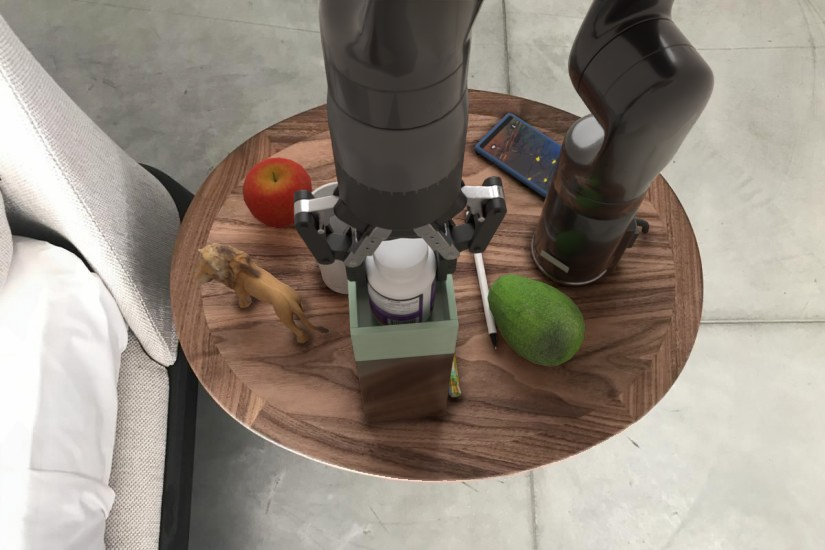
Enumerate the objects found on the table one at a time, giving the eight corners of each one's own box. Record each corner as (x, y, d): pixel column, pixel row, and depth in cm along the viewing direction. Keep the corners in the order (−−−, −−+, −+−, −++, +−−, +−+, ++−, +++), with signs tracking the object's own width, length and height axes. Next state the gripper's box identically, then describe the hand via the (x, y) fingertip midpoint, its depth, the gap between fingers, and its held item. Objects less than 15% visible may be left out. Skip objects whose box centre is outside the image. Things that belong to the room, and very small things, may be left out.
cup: (374, 306, 81) (369, 254, 70) (306, 293, 82) (290, 240, 71) (389, 246, 85) (387, 188, 74) (323, 234, 85) (312, 175, 75)
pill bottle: (397, 262, 61) (395, 200, 53) (447, 299, 60) (453, 240, 51) (355, 307, 59) (346, 249, 51) (405, 346, 58) (405, 293, 49)
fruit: (570, 385, 77) (492, 324, 84) (612, 323, 76) (529, 267, 83) (538, 377, 70) (456, 312, 77) (583, 310, 69) (495, 250, 76)
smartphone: (509, 110, 93) (606, 172, 89) (508, 114, 94) (605, 176, 89) (472, 146, 90) (570, 212, 86) (472, 150, 91) (569, 216, 87)
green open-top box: (436, 342, 79) (446, 233, 58) (444, 415, 75) (459, 326, 54) (362, 349, 79) (345, 241, 58) (366, 422, 75) (350, 335, 54)
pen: (471, 203, 87) (471, 198, 86) (499, 349, 79) (500, 346, 78) (463, 204, 87) (464, 199, 86) (491, 350, 79) (492, 347, 78)
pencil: (429, 250, 84) (449, 398, 76) (429, 245, 83) (449, 394, 75) (440, 249, 84) (461, 397, 76) (440, 244, 83) (461, 393, 75)
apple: (239, 203, 87) (225, 165, 80) (296, 174, 89) (287, 134, 82) (270, 250, 84) (257, 214, 77) (328, 218, 86) (321, 181, 79)
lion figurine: (203, 303, 81) (180, 265, 73) (227, 265, 83) (208, 224, 75) (319, 353, 79) (309, 319, 71) (341, 312, 81) (333, 275, 73)
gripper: (267, 199, 38) (308, 326, 53) (538, 179, 38) (501, 310, 53) (268, 89, 41) (305, 237, 56) (516, 72, 42) (488, 224, 57)
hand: (401, 272), depth 55 cm, fingers closed on pill bottle, 5 cm apart
